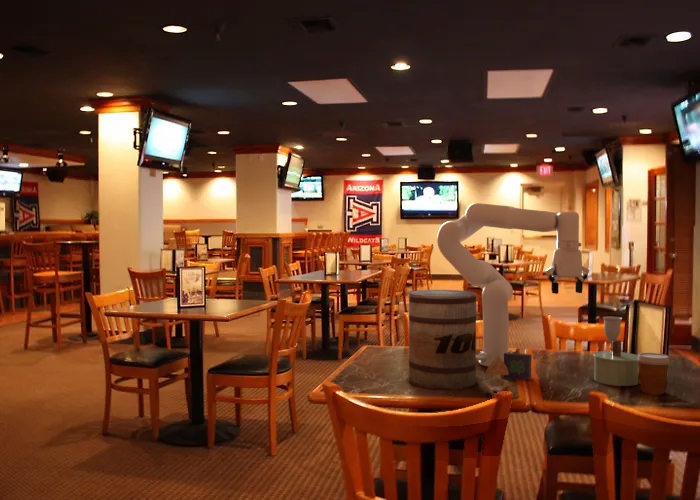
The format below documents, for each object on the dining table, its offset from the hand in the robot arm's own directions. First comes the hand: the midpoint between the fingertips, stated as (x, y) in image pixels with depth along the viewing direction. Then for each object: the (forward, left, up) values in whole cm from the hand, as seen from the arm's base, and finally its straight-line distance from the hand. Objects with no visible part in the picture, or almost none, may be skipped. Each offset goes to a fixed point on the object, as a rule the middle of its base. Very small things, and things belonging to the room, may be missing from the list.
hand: (567, 293), depth 231 cm
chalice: (+22, +4, -28) cm, 36 cm away
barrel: (-50, -4, -28) cm, 58 cm away
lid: (+6, -20, -20) cm, 29 cm away
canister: (+6, -20, -28) cm, 35 cm away
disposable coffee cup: (+8, -35, -28) cm, 46 cm away
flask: (-24, -8, -28) cm, 38 cm away
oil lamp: (-40, -24, -28) cm, 55 cm away
